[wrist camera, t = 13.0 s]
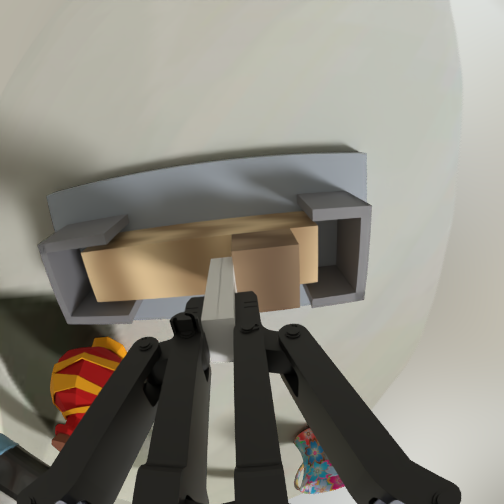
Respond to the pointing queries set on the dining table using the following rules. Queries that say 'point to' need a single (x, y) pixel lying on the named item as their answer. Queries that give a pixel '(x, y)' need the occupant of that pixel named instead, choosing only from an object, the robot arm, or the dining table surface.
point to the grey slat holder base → (212, 208)
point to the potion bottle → (81, 382)
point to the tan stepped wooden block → (209, 259)
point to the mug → (315, 466)
